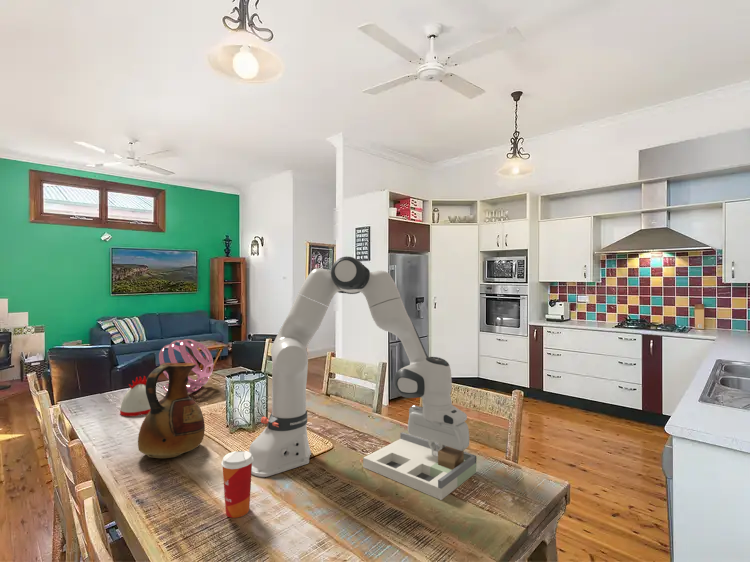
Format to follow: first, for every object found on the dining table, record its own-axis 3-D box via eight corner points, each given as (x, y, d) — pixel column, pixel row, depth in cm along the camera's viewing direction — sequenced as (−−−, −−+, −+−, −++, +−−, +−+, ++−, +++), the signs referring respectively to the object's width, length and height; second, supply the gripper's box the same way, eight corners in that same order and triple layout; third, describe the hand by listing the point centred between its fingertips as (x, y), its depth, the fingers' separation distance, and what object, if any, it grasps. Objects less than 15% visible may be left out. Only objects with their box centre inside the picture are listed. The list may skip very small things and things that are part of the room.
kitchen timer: (163, 409, 179) (162, 375, 179) (130, 418, 168) (130, 382, 168) (146, 403, 187) (146, 371, 187) (114, 412, 175) (113, 378, 175)
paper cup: (226, 503, 105) (226, 450, 105) (256, 502, 106) (256, 449, 105) (217, 521, 97) (216, 464, 97) (249, 520, 98) (249, 462, 98)
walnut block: (454, 470, 117) (454, 456, 117) (438, 464, 120) (438, 451, 120) (463, 463, 121) (463, 450, 121) (447, 458, 124) (447, 445, 124)
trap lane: (441, 500, 107) (441, 481, 107) (363, 467, 125) (363, 451, 125) (476, 472, 122) (476, 455, 122) (402, 446, 140) (402, 432, 140)
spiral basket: (131, 357, 197) (177, 325, 197) (168, 359, 224) (209, 332, 224) (153, 407, 189) (201, 375, 189) (189, 403, 216) (231, 375, 216)
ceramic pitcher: (217, 445, 141) (216, 360, 140) (165, 470, 123) (165, 372, 122) (178, 436, 149) (177, 355, 149) (124, 458, 131) (123, 366, 130)
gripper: (403, 406, 128) (403, 449, 128) (461, 421, 115) (461, 470, 115) (415, 401, 133) (415, 443, 133) (471, 415, 119) (471, 462, 120)
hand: (437, 455), depth 124 cm, fingers closed
